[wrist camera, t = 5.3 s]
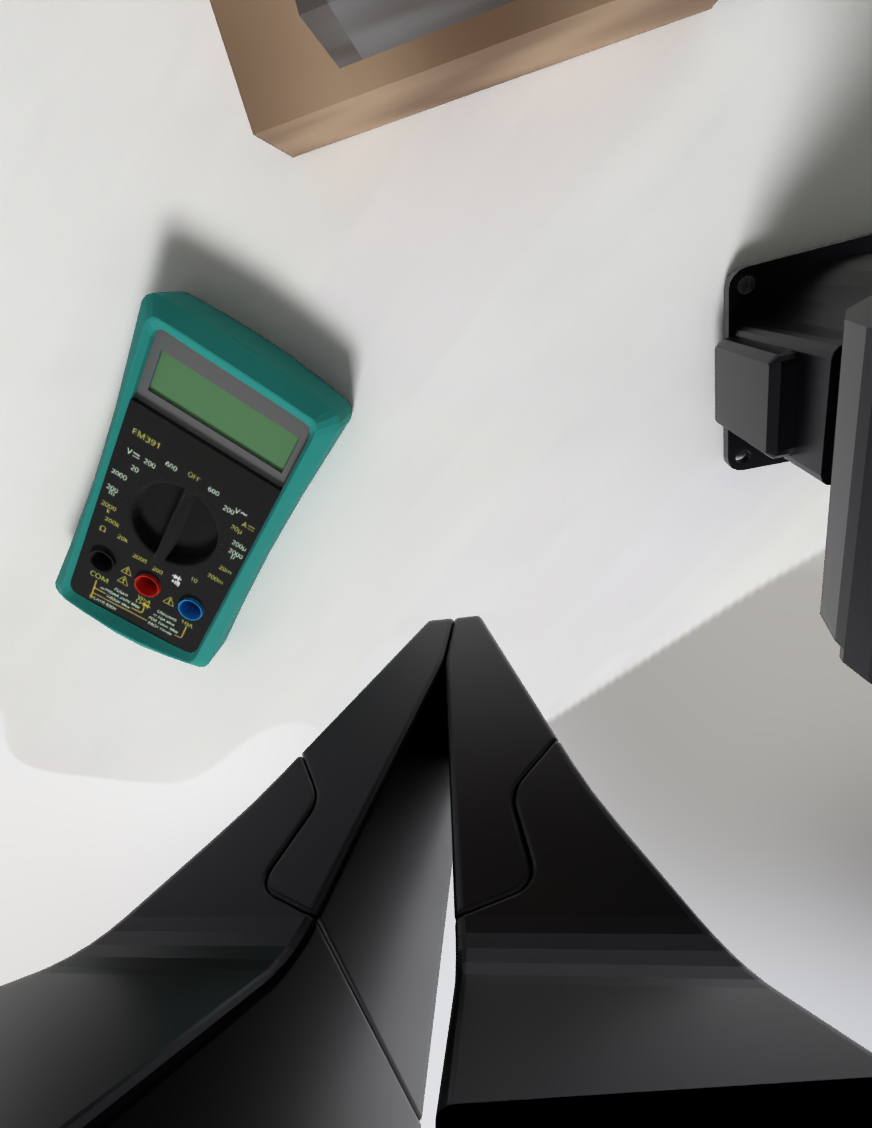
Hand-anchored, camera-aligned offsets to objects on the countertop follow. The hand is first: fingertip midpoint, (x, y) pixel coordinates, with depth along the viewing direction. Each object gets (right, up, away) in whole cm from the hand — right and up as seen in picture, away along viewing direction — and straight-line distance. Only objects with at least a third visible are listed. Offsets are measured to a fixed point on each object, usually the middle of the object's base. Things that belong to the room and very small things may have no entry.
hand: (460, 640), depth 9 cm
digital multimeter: (-10, +4, +14) cm, 18 cm away
